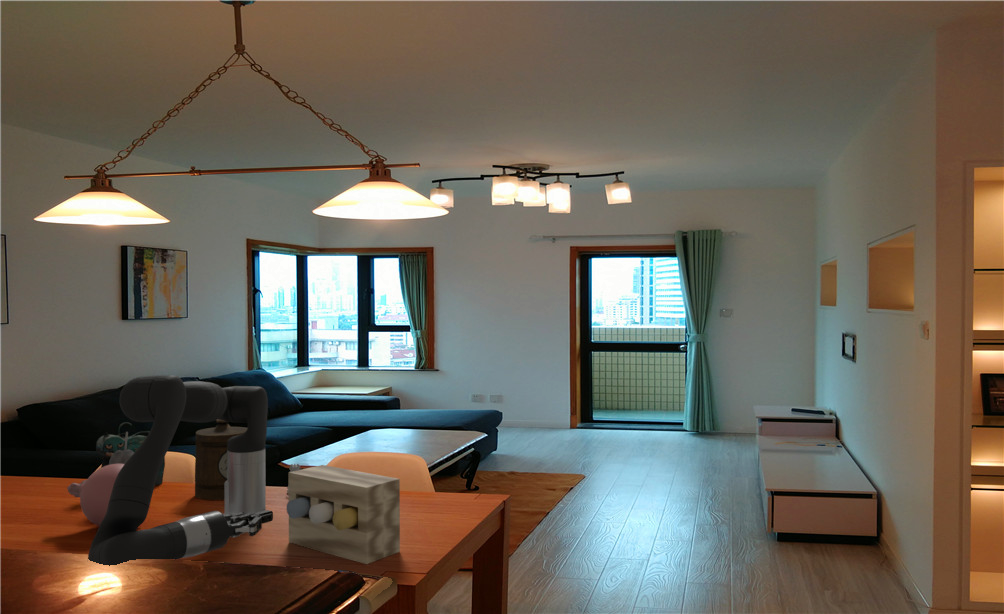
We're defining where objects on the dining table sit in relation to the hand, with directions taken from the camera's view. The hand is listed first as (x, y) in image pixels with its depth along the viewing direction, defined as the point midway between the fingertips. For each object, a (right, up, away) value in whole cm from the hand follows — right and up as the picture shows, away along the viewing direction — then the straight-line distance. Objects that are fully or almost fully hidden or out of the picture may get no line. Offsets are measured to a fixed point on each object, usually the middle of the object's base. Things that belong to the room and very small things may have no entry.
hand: (270, 515), depth 169 cm
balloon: (-46, -9, +23) cm, 52 cm away
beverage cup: (-51, -9, +41) cm, 66 cm away
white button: (+11, -2, +2) cm, 11 cm away
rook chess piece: (-10, -9, +57) cm, 59 cm away
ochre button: (+17, -2, -2) cm, 17 cm away
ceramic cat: (-59, -9, +61) cm, 85 cm away
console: (+14, -9, +7) cm, 18 cm away
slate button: (+5, -2, +7) cm, 9 cm away
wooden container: (-30, -9, +55) cm, 64 cm away
